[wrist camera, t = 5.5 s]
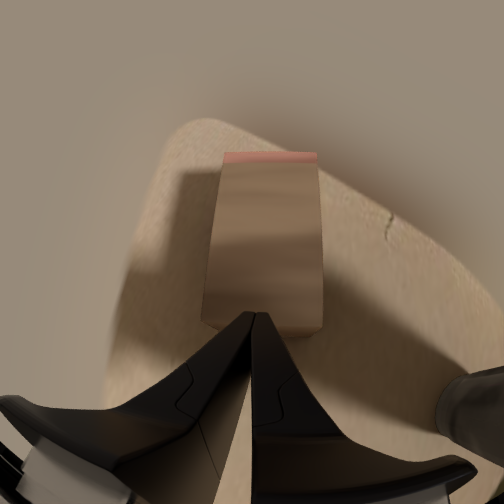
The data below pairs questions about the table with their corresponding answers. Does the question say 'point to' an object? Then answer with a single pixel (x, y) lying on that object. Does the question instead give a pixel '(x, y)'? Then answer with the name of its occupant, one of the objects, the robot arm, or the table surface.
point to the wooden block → (267, 242)
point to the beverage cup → (475, 413)
